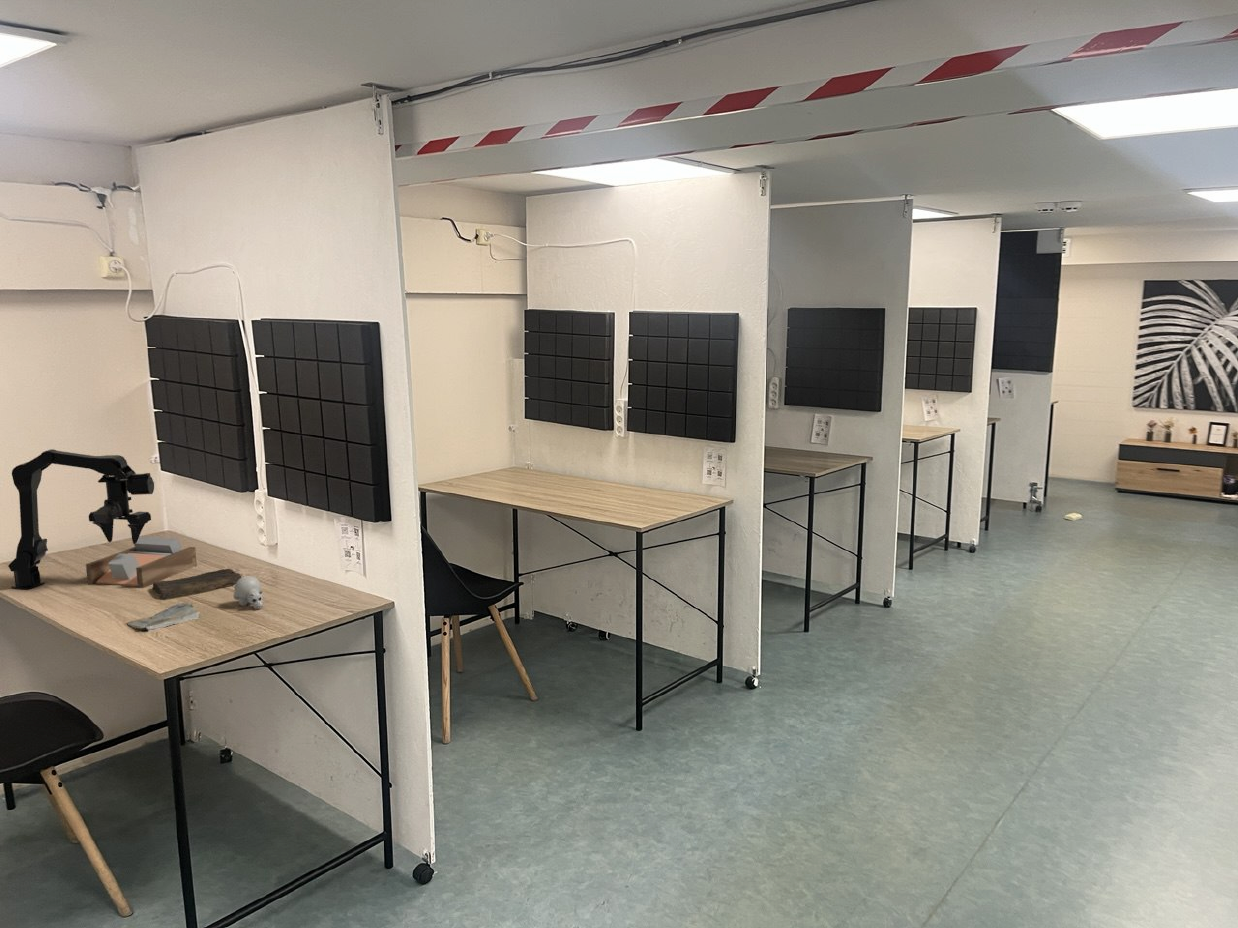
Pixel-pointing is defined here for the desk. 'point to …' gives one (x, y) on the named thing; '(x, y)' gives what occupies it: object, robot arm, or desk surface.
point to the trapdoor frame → (147, 567)
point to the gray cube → (123, 566)
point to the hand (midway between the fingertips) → (122, 542)
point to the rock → (196, 584)
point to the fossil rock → (167, 617)
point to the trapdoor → (145, 556)
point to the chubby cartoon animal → (248, 592)
